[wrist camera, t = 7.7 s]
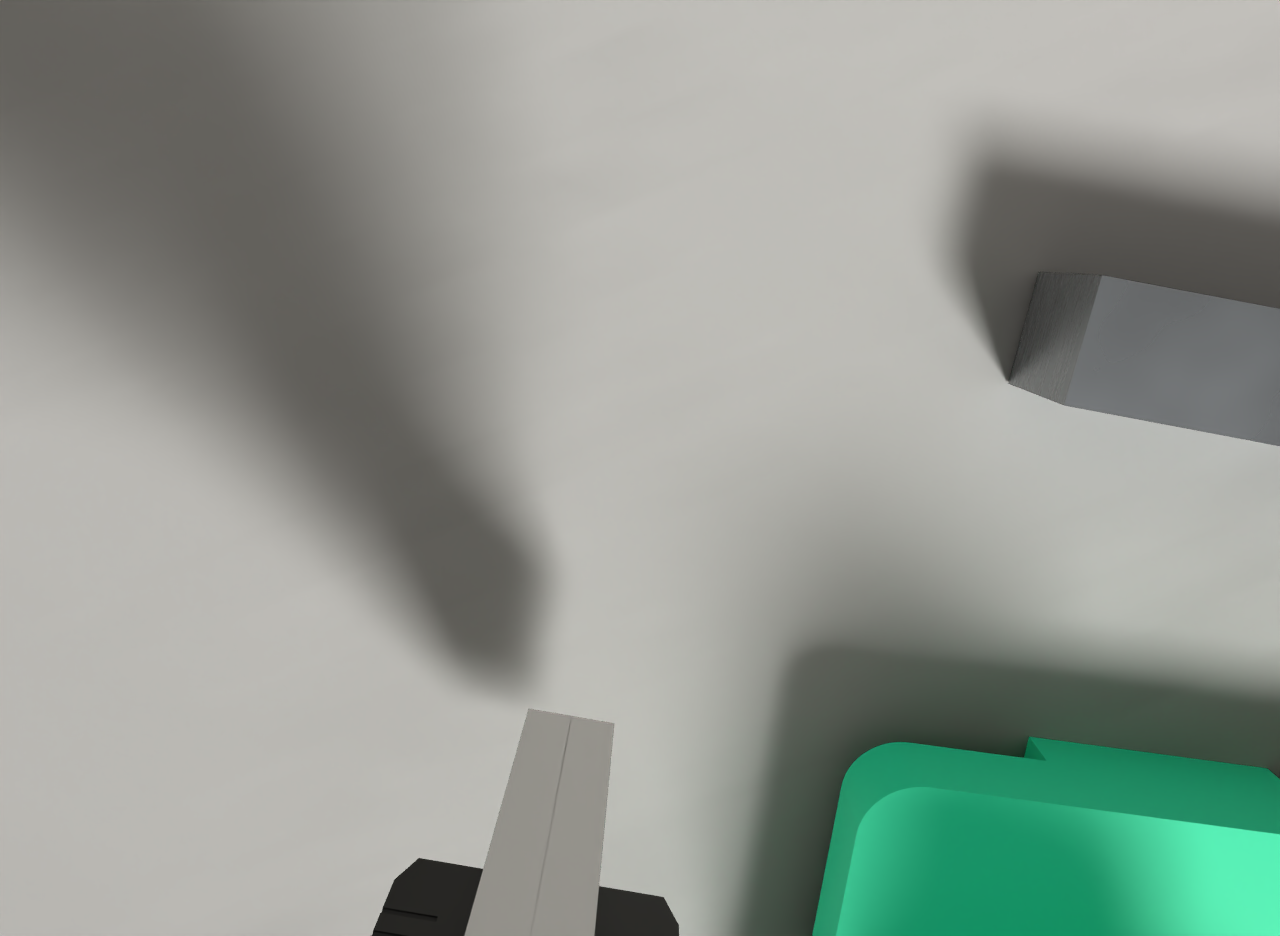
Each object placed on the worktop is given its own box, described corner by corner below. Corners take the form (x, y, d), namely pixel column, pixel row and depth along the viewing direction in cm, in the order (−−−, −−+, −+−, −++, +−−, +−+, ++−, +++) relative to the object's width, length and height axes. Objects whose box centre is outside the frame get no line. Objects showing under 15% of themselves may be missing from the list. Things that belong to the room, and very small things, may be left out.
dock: (791, 1173, 21) (813, 1351, 18) (1039, 271, 16) (1133, 276, 13) (1361, 1277, 21) (1494, 1476, 18) (1763, 409, 17) (2045, 449, 13)
